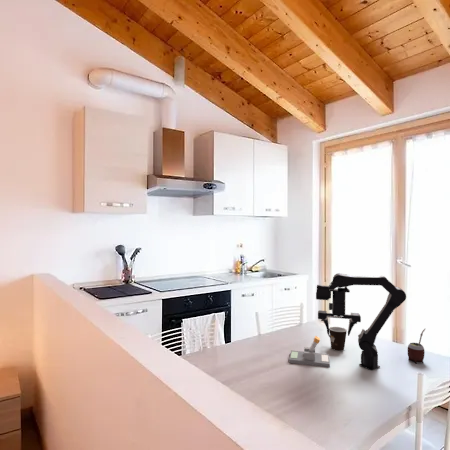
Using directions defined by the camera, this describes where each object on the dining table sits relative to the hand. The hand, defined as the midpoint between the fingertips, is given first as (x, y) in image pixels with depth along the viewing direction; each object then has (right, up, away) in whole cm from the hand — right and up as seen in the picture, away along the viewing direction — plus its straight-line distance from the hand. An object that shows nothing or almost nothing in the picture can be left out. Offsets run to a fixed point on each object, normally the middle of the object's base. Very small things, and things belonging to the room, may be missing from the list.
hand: (338, 334), depth 163 cm
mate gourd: (+38, -14, +3) cm, 40 cm away
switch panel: (-13, -13, +3) cm, 18 cm away
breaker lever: (-13, -10, +3) cm, 16 cm away
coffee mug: (+5, -13, +20) cm, 24 cm away
